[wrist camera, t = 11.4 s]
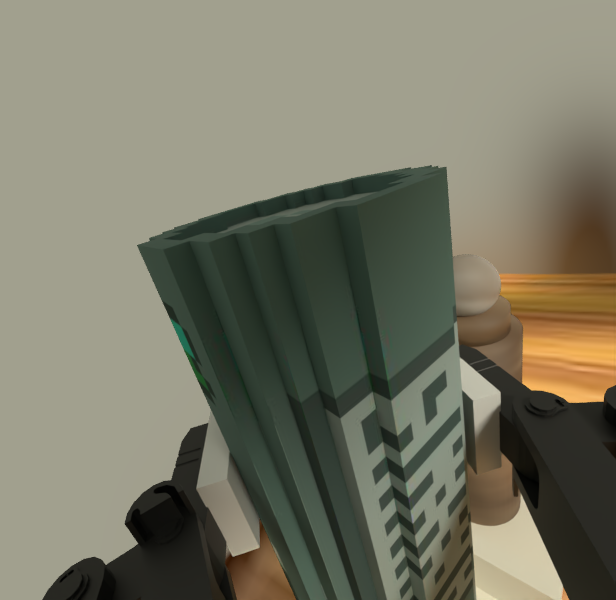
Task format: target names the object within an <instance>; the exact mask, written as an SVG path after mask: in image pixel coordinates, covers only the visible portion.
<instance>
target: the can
mask: <svg viewBox="0 0 616 600" xmlns="http://www.w3.org/2000/svg"><path fill="white" fill-rule="evenodd" d="M149 239H150V241H149V242H146V243H142V244H139V245H137V246H138V248H139V251H140V253H141V255H142V257H143V260H144V262H145V264H146V266H147V269H148V271H149V273H150V275H151V277H152V279H153V282H154V284H155V286H156V288H157V291H158V293H159V295H160V297H161V300H162V302H163V304H164V306H165V308H166V310H167V313H168V315H169V317H170V319H171V322H172V324H173V326H174V328H175V331H176V333H177V335H178V337H179V340H180V342H181V344H182V346H183V348H184V351H185V353H186V355H187V357H188V360H189V362H190V364H191V366H192V369H193V371H194V373H195V375H196V377H197V380H198V382H199V384H200V386H201V389H202V390H203V393H204V395H205V397H206V399H207V402H208V404H209V406H210V408H211V411H212V413H213V415H214V417H215V420H216V422H217V424H218V426H219V429H220V431H221V433H222V435H223V437H224V440H225V442H226V444H227V446H228V449H229V451H230V453H231V455H232V457H233V460H234V462H235V464H236V466H237V469H238V471H239V473H240V475H241V478H242V480H243V482H244V484H245V486H246V489H247V491H248V493H249V495H250V498H251V500H252V502H253V504H254V506H255V509H256V511H257V513H258V515H259V518H260V520H261V522H262V524H263V526H264V529H265V531H266V533H267V535H268V538H269V540H270V542H271V544H272V546H273V549H274V551H275V553H276V555H277V558H278V560H279V562H280V564H281V566H282V569H283V571H284V573H285V575H286V578H287V580H288V582H289V584H290V586H291V589H292V591H293V593H294V595H295V598H296V600H476V585H475V571H474V557H473V542H472V528H471V514H470V499H469V485H468V471H467V456H466V442H465V428H464V413H463V399H462V385H461V370H460V356H459V342H458V327H457V313H456V299H455V284H454V270H453V256H452V242H451V227H450V213H449V199H448V184H447V170H446V167H442V168H438V166H436V167H432V166H431V165H430V166H425V167H419V168H414V169H411V168H405V169H399V170H394V171H389V172H383V173H377V174H373V175H367V176H361V177H356V178H351V179H347V180H344V181H341V182H335V183H330V184H324V185H320V186H317V187H314V188H308V189H304V190H301V191H297V192H293V193H287V194H284V195H281V196H278V197H274V198H271V199H268V200H263V201H258V202H254V203H251V204H248V205H244V206H242V207H238V208H234V209H231V210H228V211H225V212H221V213H218V214H214V215H211V216H208V217H204V218H201V219H199V220H198V221H195V222H192V223H188V224H185V225H182V226H178V227H175V228H174V229H173V230H169V231H166V232H163V234H161V235H157V236H155V237H151V238H149Z"/></svg>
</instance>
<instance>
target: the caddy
mask: <svg viewBox="0 0 616 600" xmlns="http://www.w3.org/2000/svg"><path fill="white" fill-rule="evenodd" d="M471 528H472V542H473V557H474V571H475V585H476V600H562V592H563V585H562V582H561V580H560V578H559V576H558V574H557V571H556V569H555V567H554V565H553V563H552V561H551V558H550V556H549V554H548V552H547V550H546V547H545V545H544V543H543V541H542V539H541V536H540V534H539V532H538V530H537V528H536V526H535V523H534V521H533V519H532V517H531V515H530V512H529V510H528V508H527V506H526V504H525V501H524V499H523V497H522V495H521V503H520V508H519V511H518V513H517V514H516V516H515V517H514V518H513V519H512V520H510V521H509V522H507V523H505V524H501V525H497V526H484V525H479V524H475V523H472V522H471Z"/></svg>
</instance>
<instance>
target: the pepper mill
mask: <svg viewBox="0 0 616 600" xmlns="http://www.w3.org/2000/svg"><path fill="white" fill-rule="evenodd" d="M453 270H454V284H455V299H456V313H457V327H458V342H459V345H462V344H463V345H466V346H469V347H471V348H474V349H477V350H478V351H480V352H481V353H482V354H484V355H485V356H486V357H488V359H490V360H492V361H493V362H494V363H496V364H497V366H500V367H501V368H502V369H504V370H505V371H506V372H507V373H509V374H510V375H511V376H513V377H514V378H515V379H517V380H518V381H519V382H521V383H522V348H523V327H522V324H521V322H520V321H519V320H518V319H517V318H516V317H515V316H514V315H512V314H511V305H510V303H509V301H508V300H507V299H505V298H504V297H502V296H500V295H499V294H500V290H501V280H500V276H499V274H498V272H497V270H496V268H495V267H494V266H493V265H492V264H491V263H490V262H488V261H487V260H485V259H484V258H482V257H479V256H475V255H469V254H468V255H466V254H465V255H458V256H454V257H453ZM501 459H502V467H500V468H497V469H494V470H491V471H488V472H485V473H482V474H479V475H477V474H476V473H475V472H474V470H473V469H472V468H471V466H470V465H469V464H468V463H467V471H468V485H469V499H470V514H471V522H472V523H475V524H479V525H484V526H497V525H501V524H505V523H507V522H509V521H510V520H512V519H513V518H514V517H515V516H516V514H517V513H518V511H519V508H520V503H521V493H520V490H519V488H518V497H514V496H513V491H512V463H511V462H510V461H509V460H508V459H507V458H506V457H505V456H504V454H503V453H502V452H501Z"/></svg>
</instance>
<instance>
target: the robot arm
mask: <svg viewBox="0 0 616 600" xmlns="http://www.w3.org/2000/svg"><path fill="white" fill-rule="evenodd" d="M459 356H460V370H461V385H462V399H463V413H464V428H465V442H466V456H467V463H468V464H469V465H470V466H471V468H472V469H473V470H474V472H475V473H476V474H477V475H479V474H482V473H485V472H488V471H491V470H494V469H497V468H500V467H502V459H501V452H502V453H503V454H504V456H505V457H506V458H507V459H508V460H509V461H510V462H511V463H512V491H513V496H514V497H518V488H519V490H520V493H521V495H522V497H523V499H524V501H525V504H526V506H527V508H528V510H529V512H530V515H531V517H532V519H533V521H534V523H535V526H536V528H537V530H538V532H539V534H540V536H541V539H542V541H543V543H544V545H545V547H546V550H547V552H548V554H549V556H550V558H551V561H552V563H553V565H554V567H555V569H556V571H557V574H558V576H559V578H560V580H561V582H562V585H563V587H564V589H565V591H566V593H567V596H568V598H569V600H616V385H615V386H613V387H611V388H609V389H607V391H606V393H605V395H604V402H587V403H568V402H567V401H566V400H565V399H563V398H561V397H559V396H557V395H555V394H552V393H548V392H544V391H531V390H530V389H529V388H527V387H526V386H525V385H523V384H522V383H521V382H519V381H518V380H517V379H515V378H514V377H513V376H511V375H510V374H509V373H507V372H506V371H505V370H504V369H502V368H501V367H500V366H497V364H496V363H494V362H493V361H492V360H490V359H488V357H486V356H485V355H484V354H482V353H481V352H480V351H478V350H477V349H474V348H471V347H469V346H466V345H463V344H462V345H459ZM178 455H179V457H178V458H177V461H176V468H175V469H174V472H173V476H172V480H171V481H163V482H161V483H158V484H156V485H153V486H152V487H151V488H149V489H148V490H147V491H145V492H144V493H142V494H141V496H140V497H139V498H138V499H137V500H136V501H135V502H134V503H133V505H132V506H131V508H130V510H129V512H128V513H127V516H126V520H125V525H126V527H127V528H128V529H129V531H130V532H131V533H132V535H133V537H134V538H135V539H136V541H137V542H138V544H137V545H136V546H135V547H134V548H132V549H130V550H129V551H127V552H126V553H124V554H123V555H121V556H119V557H118V558H116V559H115V560H113V561H111V562H110V563H108V564H107V565H105V564H104V562H103V561H102V560H101V559H99V558H96V557H91V558H87V559H83V560H82V561H80V562H78V563H76V564H74V565H73V566H71V567H70V568H69V569H68V570H67V571H65V572H64V573H63V574H62V575H61V576H59V578H58V579H57V580H56V581H55V582H54V584H53V585H52V586H51V587H50V588H49V590H48V591H47V593H46V594H45V596H44V598H43V600H237V598H236V594H235V590H234V587H233V583H232V579H231V575H230V572H229V571H228V569H227V567H226V565H225V557H226V545H227V547H228V549H229V551H230V553H231V554H232V556H233V557H234V556H237V555H240V554H243V553H246V552H249V551H252V550H255V549H258V548H260V537H259V515H258V513H257V511H256V509H255V506H254V504H253V502H252V500H251V498H250V495H249V493H248V491H247V489H246V486H245V484H244V482H243V480H242V478H241V475H240V473H239V471H238V469H237V466H236V464H235V462H234V460H233V457H232V455H231V453H230V451H229V449H228V446H227V444H226V442H225V440H224V437H223V435H222V433H221V431H220V429H219V426H218V424H217V422H216V420H215V417H214V415H213V413H212V411H211V412H210V418H209V423H207V424H204V425H200V426H197V427H194V428H191V429H190V431H189V432H188V433H187V435H186V436H185V438H184V439H183V441H182V443H181V447H180V450H179V454H178Z"/></svg>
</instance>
